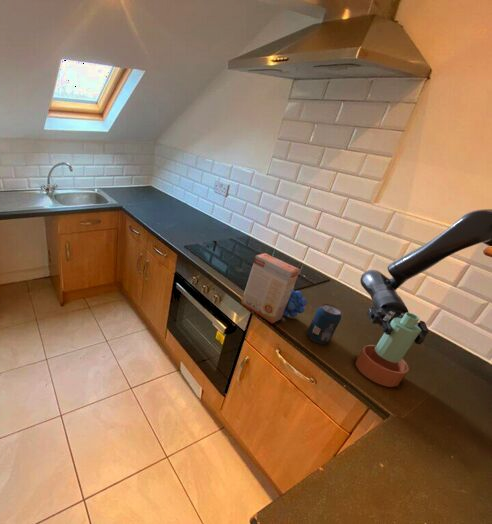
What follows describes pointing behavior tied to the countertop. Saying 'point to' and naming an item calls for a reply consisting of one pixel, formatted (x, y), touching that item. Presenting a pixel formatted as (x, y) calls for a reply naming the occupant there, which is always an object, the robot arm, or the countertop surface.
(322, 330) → the soda can
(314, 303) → the countertop surface
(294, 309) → the grapes
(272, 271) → the cracker box
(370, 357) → the terracotta bowl
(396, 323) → the bottle
